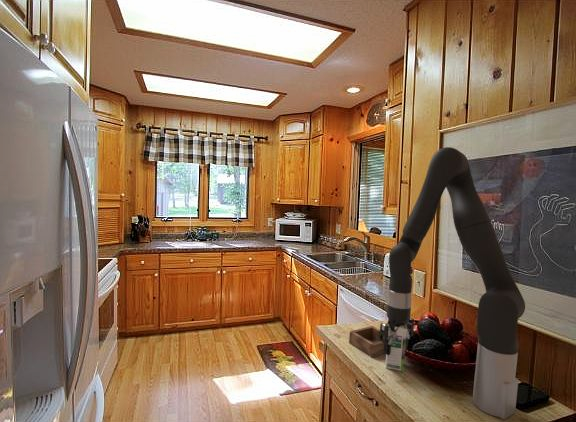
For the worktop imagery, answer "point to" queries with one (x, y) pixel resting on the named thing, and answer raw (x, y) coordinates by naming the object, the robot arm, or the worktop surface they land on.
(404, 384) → the worktop surface
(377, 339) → the brown square open box
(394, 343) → the syrup box
